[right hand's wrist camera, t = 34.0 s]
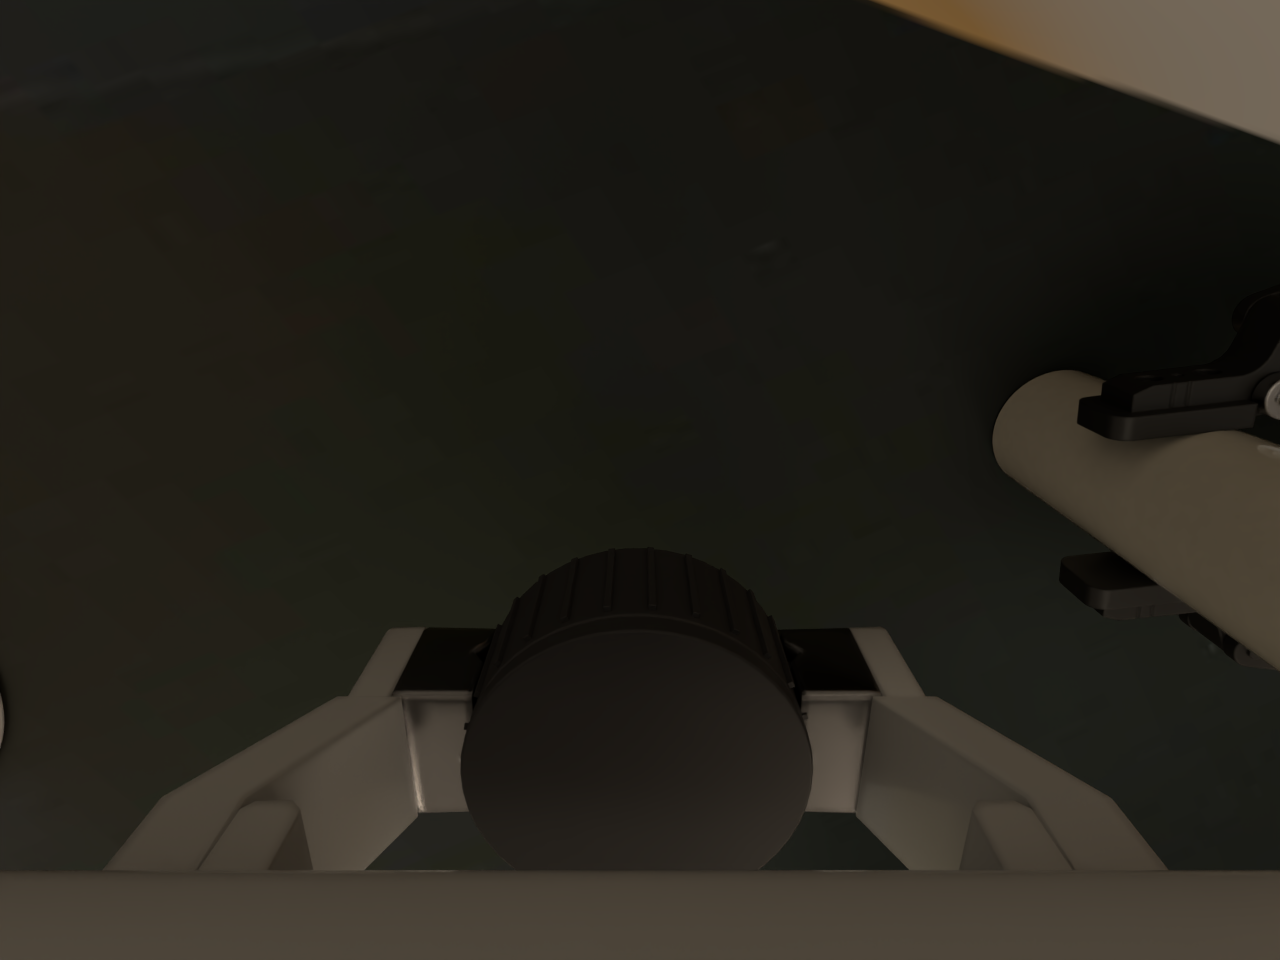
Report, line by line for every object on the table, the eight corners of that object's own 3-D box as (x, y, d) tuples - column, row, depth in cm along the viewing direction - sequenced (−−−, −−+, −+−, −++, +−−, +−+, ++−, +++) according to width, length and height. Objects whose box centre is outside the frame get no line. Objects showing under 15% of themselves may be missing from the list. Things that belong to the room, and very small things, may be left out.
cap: (701, 826, 11) (714, 950, 9) (446, 732, 11) (404, 845, 9) (842, 616, 10) (889, 713, 8) (559, 493, 9) (538, 566, 7)
